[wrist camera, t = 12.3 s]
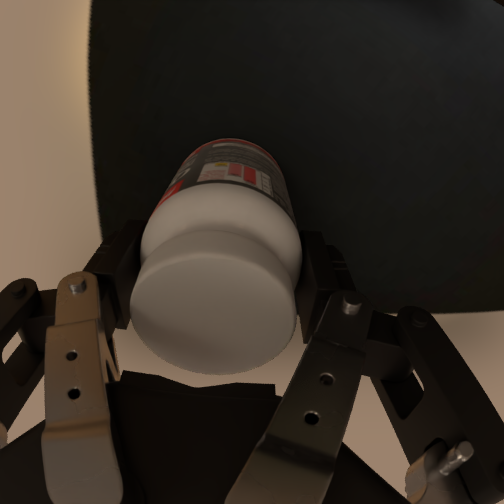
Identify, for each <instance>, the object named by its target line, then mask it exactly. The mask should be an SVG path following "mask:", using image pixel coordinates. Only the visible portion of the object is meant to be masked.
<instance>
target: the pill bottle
mask: <svg viewBox="0 0 504 504" xmlns="http://www.w3.org/2000/svg"><path fill="white" fill-rule="evenodd" d="M140 262H141V270H140V272H139V275H138V278H137V281H136V283H135V286H134V288H133V291H132V294H131V299H130V315H131V320H132V323H133V326H134V329H135V331H136V332H137V334H138V336H139V337H140V339H141V340H142V341H143V343H144V344H145V345H146V346H147V347H148V348H149V349H150V350H151V351H152V352H153V353H155V354H156V355H157V356H158V357H160V358H161V359H163V360H165V361H166V362H168V363H170V364H173V365H175V366H177V367H179V368H182V369H185V370H188V371H192V372H196V373H202V374H210V375H211V374H212V375H226V374H235V373H241V372H245V371H249V370H252V369H254V368H257V367H259V366H262V365H264V364H265V363H267V362H269V361H271V360H272V359H274V358H275V357H276V356H277V355H279V354H280V353H281V352H282V351H283V350H284V349H285V347H286V346H287V344H288V343H289V342H290V340H291V338H292V336H293V333H294V331H295V327H296V320H297V312H296V305H295V298H294V289H295V287H296V285H297V283H298V280H299V278H300V274H301V269H302V247H301V241H300V236H299V232H298V229H297V225H296V221H295V217H294V214H293V210H292V206H291V202H290V199H289V195H288V191H287V187H286V184H285V180H284V177H283V174H282V172H281V170H280V168H279V166H278V164H277V163H276V161H275V160H274V159H273V157H272V156H271V155H270V154H269V153H268V152H266V151H265V150H264V149H262V148H261V147H259V146H258V145H256V144H253V143H251V142H248V141H245V140H240V139H231V138H228V139H219V140H215V141H211V142H209V143H206V144H204V145H202V146H201V147H199V148H198V149H196V150H195V151H194V152H193V153H191V154H190V155H189V156H188V158H187V159H186V160H185V161H184V162H183V164H182V165H181V167H180V168H179V170H178V172H177V173H176V175H175V177H174V178H173V180H172V182H171V183H170V185H169V187H168V188H167V190H166V191H165V193H164V195H163V197H162V198H161V200H160V202H159V204H158V205H157V207H156V208H155V210H154V212H153V214H152V215H151V217H150V219H149V221H148V223H147V225H146V228H145V230H144V233H143V236H142V241H141V247H140Z"/></svg>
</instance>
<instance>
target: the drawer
mask: <svg viewBox="0 0 504 504" xmlns="http://www.w3.org/2000/svg"><path fill="white" fill-rule="evenodd" d="M494 1H495V2H497V3H499V4H500V5H502V6H503V7H504V0H494Z"/></svg>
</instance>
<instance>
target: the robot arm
mask: <svg viewBox="0 0 504 504" xmlns="http://www.w3.org/2000/svg"><path fill="white" fill-rule="evenodd" d="M147 223H148V221H147V220H128V221H127V222H126V223H125V225H124V226H123V227H122V229H121V230H120V232H119V231H115V232H113V233H112V234H110V235H109V236H107V237H106V238H105V239H104V241H103V242H102V243H101V245H100V247H99V248H98V249H97V251H96V253H94V255H93V256H92V258H91V259H90V260H89V262H88V263H87V265H86V266H85V268H84V269H83V271H80V272H75V273H72V274H70V275H67V276H66V277H64V278H63V279H62V280H61V281H60V282H59V284H58V287H57V289H51V290H42V291H39V290H38V288H37V284H36V282H35V281H34V280H32V279H29V278H22V279H18V280H15V281H13V282H11V283H10V284H9V285H7V287H5V288H4V289H3V290H2V291H1V292H0V504H496V503H497V502H499V501H501V500H503V499H504V423H503V421H502V419H501V417H500V416H499V414H498V413H497V411H496V409H495V407H494V406H493V404H492V402H491V401H490V399H489V398H488V396H487V394H486V393H485V391H484V390H483V388H482V386H481V385H480V383H479V382H478V380H477V379H476V377H475V376H474V374H473V373H472V371H471V370H470V368H469V367H468V365H467V364H466V362H465V361H464V359H463V358H462V356H461V355H460V353H459V352H458V351H457V349H456V348H455V346H454V345H453V343H452V342H451V341H450V339H449V338H448V336H447V335H446V334H445V332H444V331H443V329H442V328H441V327H440V325H439V324H438V323H437V321H436V320H435V318H434V317H433V316H432V315H431V314H430V313H429V312H427V311H426V310H424V309H422V308H419V307H415V306H406V307H403V308H402V309H400V311H399V312H398V315H397V317H396V316H392V315H388V314H384V313H380V312H377V311H375V310H373V305H372V303H371V301H370V300H369V299H368V298H367V297H366V296H364V295H363V294H361V293H359V292H357V291H356V288H355V285H354V283H353V280H352V278H351V275H350V273H349V270H348V268H347V265H346V263H345V260H344V258H343V256H342V253H341V252H340V251H339V250H338V249H337V248H335V247H334V246H333V245H326V244H325V242H324V239H323V236H322V233H321V232H317V231H305V230H301V232H300V235H299V236H300V241H301V247H302V269H301V274H300V278H299V280H298V283H297V285H296V287H295V291H296V297H297V304H298V310H299V317H300V323H301V330H302V337H303V343H304V344H307V347H306V349H305V351H304V353H303V355H302V357H301V360H300V362H299V364H298V366H297V368H296V370H295V373H294V375H293V377H292V379H291V381H290V383H289V385H288V387H287V389H286V392H285V393H284V395H283V397H281V396H277V395H275V394H276V393H275V384H257V383H230V384H223V385H216V386H209V387H200V388H196V387H191V386H188V385H185V384H182V383H179V382H176V381H173V380H170V379H167V378H164V377H162V376H159V375H152V374H145V373H138V372H132V371H125V370H123V372H122V375H121V376H120V371H119V366H118V360H117V355H116V348H115V342H114V338H113V332H114V330H115V328H117V329H125V330H126V329H127V326H128V324H129V321H130V319H131V315H130V299H131V294H132V291H133V288H134V286H135V283H136V281H137V278H138V275H139V272H140V270H141V262H140V247H141V241H142V236H143V233H144V230H145V228H146V225H147ZM16 332H18V334H19V336H20V337H21V340H22V342H21V343H20V345H19V346H18V347H17V348H16V350H15V351H14V352H13V353H12V355H11V356H10V357H9V359H8V360H7V361H6V363H5V364H4V363H3V361H2V352H3V349H4V347H5V346H6V345H7V343H8V342H9V341H10V340H11V339H12V337H13V336H14V335H15V334H16ZM413 370H415V371H416V373H417V375H418V376H419V378H420V380H421V382H422V384H423V387H424V391H423V390H422V388H421V386H420V384H419V382H418V380H417V379H416V377H415V375H414V373H413V372H412V371H413ZM43 375H45V376H44V377H45V379H44V382H45V383H44V385H45V387H44V388H45V420H43V421H42V422H40V423H39V424H37V425H36V426H34V427H33V428H31V429H30V430H28V431H27V432H25V433H24V434H22V435H21V436H19V437H18V438H16V439H15V440H14V441H12V442H11V443H9V444H8V443H7V432H8V430H9V429H10V427H11V425H12V424H13V422H14V420H15V419H16V417H17V416H18V414H19V412H20V411H21V409H22V408H23V406H24V404H25V403H26V401H27V400H28V398H29V396H30V395H31V393H32V392H33V390H34V389H35V387H36V386H37V384H38V383H39V381H40V380H41V378H42V377H43ZM361 375H364V376H369V377H370V379H371V381H372V383H373V385H374V387H375V389H376V391H377V394H378V396H379V398H380V400H381V402H382V404H383V406H384V408H385V411H386V413H387V415H388V417H389V419H390V422H391V424H392V426H393V428H394V430H395V433H396V435H397V437H398V439H399V441H400V444H401V446H402V448H403V451H404V453H405V455H406V457H407V460H408V462H409V464H410V467H409V468H408V470H407V473H406V477H405V483H406V486H405V491H406V493H407V499H406V498H405V497H403V496H402V495H401V494H400V493H399V492H397V491H396V490H395V489H394V488H393V487H392V486H391V485H390V484H388V483H387V482H386V481H385V480H384V479H383V478H382V477H380V476H379V475H378V474H377V473H376V472H375V471H374V470H373V469H371V468H370V467H369V466H368V465H367V464H366V463H365V462H364V461H363V460H362V459H361V458H359V457H358V456H357V455H356V454H355V453H354V452H353V451H352V450H351V449H350V448H349V447H348V446H347V445H346V444H344V443H343V442H342V439H343V437H344V434H345V430H346V427H347V424H348V421H349V418H350V414H351V411H352V408H353V404H354V401H355V397H356V394H357V390H358V386H359V382H360V379H361Z"/></svg>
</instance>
